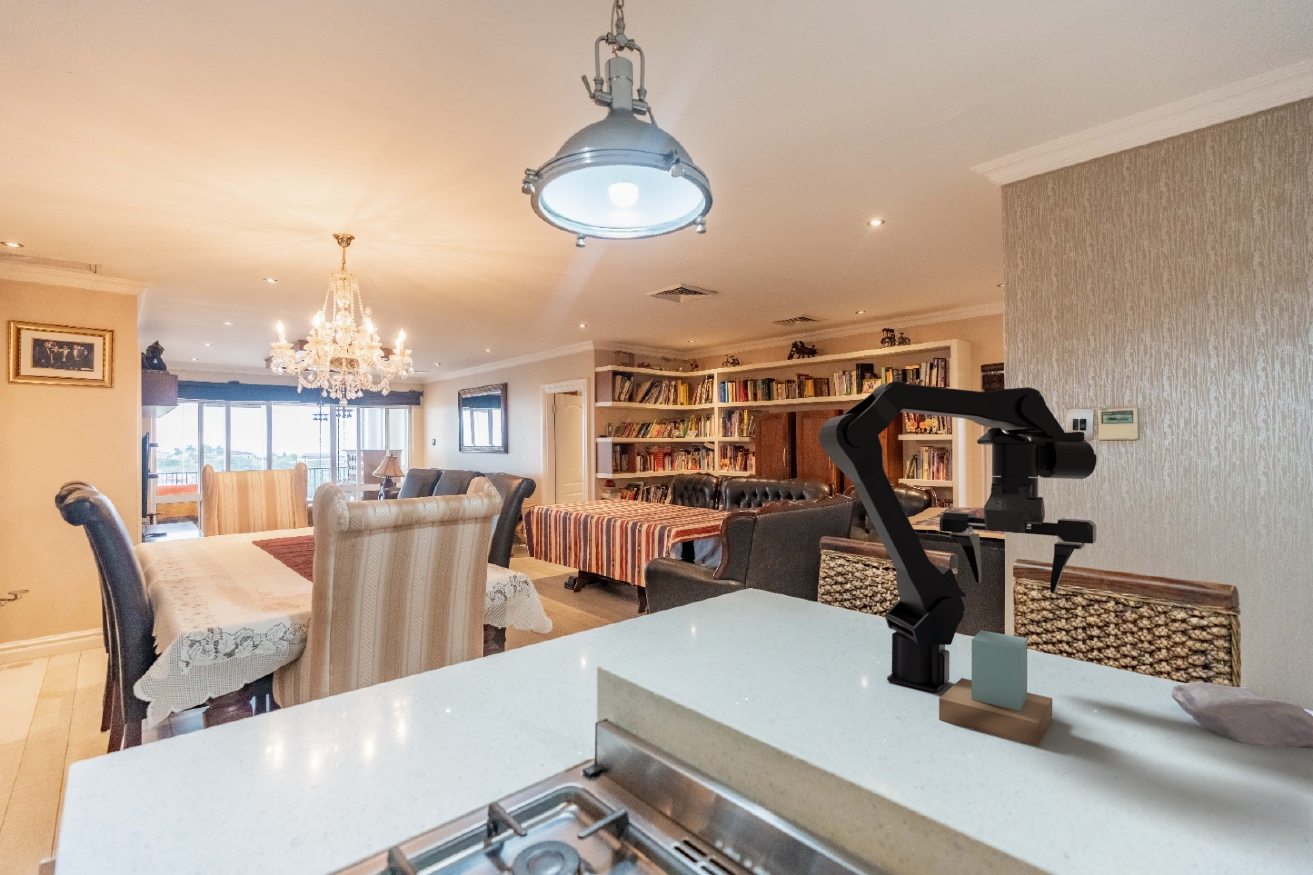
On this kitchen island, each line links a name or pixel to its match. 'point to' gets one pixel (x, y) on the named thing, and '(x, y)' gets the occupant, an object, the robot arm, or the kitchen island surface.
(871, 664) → the kitchen island surface
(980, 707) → the walnut base block
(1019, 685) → the teal block
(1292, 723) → the stone block
